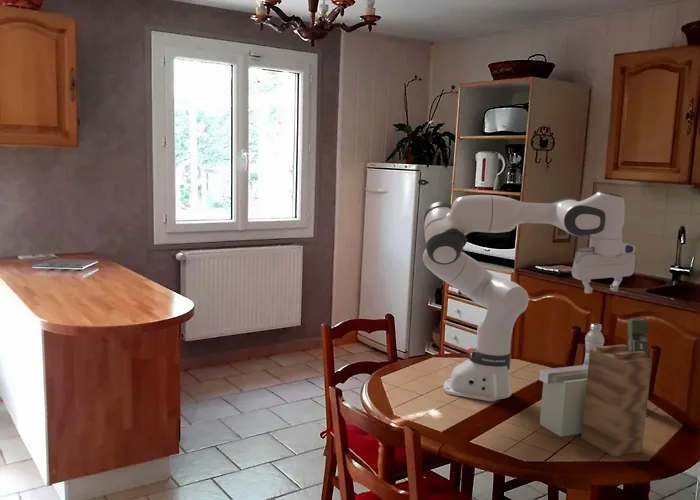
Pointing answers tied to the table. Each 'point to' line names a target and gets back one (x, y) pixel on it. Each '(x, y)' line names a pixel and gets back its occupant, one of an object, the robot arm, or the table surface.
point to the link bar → (563, 374)
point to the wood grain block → (616, 399)
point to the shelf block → (563, 407)
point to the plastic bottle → (593, 340)
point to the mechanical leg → (637, 335)
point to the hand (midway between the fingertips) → (600, 291)
